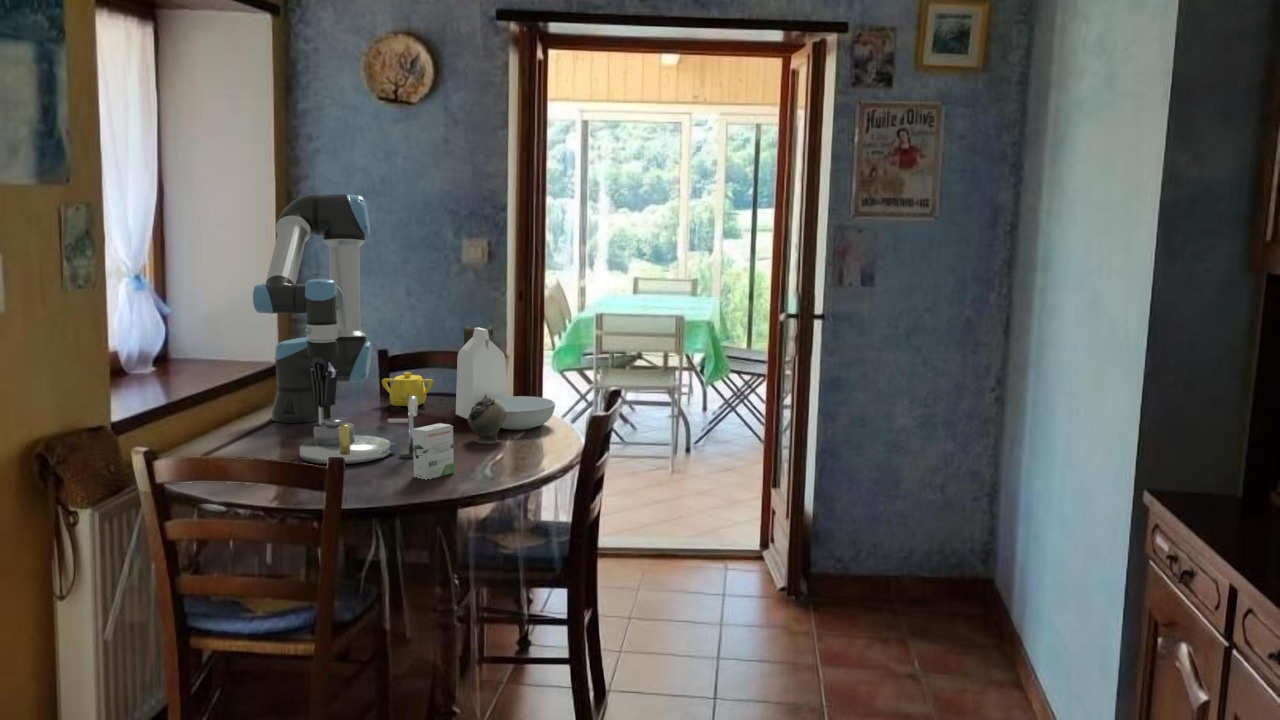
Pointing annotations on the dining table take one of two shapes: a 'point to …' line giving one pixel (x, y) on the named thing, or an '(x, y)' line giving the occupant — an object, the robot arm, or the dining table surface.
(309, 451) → the turntable
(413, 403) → the rod on square base
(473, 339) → the milk
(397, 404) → the teapot
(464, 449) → the dining table surface
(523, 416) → the serving bowl
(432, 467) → the ink box
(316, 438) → the cover
